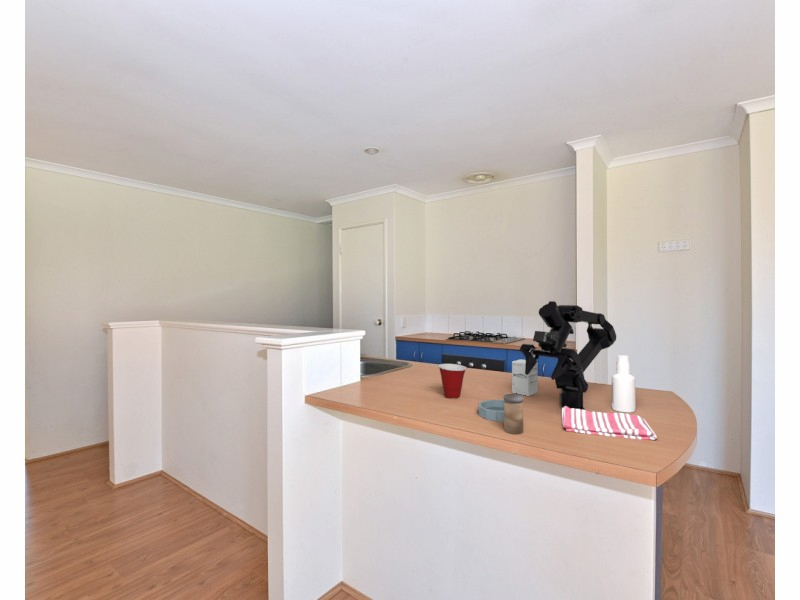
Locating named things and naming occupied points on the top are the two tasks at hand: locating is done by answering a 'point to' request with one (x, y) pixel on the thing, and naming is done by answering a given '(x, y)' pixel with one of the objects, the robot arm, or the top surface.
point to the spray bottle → (623, 386)
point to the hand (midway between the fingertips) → (538, 376)
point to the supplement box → (524, 378)
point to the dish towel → (606, 424)
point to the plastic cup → (452, 379)
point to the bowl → (492, 410)
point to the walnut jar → (513, 413)
